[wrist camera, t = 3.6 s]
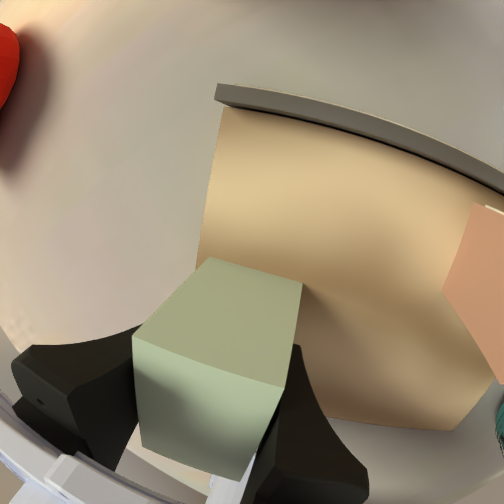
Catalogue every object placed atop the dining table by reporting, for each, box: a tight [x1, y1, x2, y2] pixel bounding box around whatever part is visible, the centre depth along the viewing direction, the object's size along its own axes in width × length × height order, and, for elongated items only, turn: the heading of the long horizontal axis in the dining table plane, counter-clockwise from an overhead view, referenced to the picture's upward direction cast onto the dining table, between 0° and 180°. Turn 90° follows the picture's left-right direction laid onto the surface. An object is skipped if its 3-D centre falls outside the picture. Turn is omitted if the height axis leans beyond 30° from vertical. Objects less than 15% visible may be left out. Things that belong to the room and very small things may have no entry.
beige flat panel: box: [195, 83, 504, 431], centre depth 11 cm, size 14×18×2 cm
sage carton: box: [132, 257, 303, 482], centre depth 11 cm, size 6×4×6 cm
